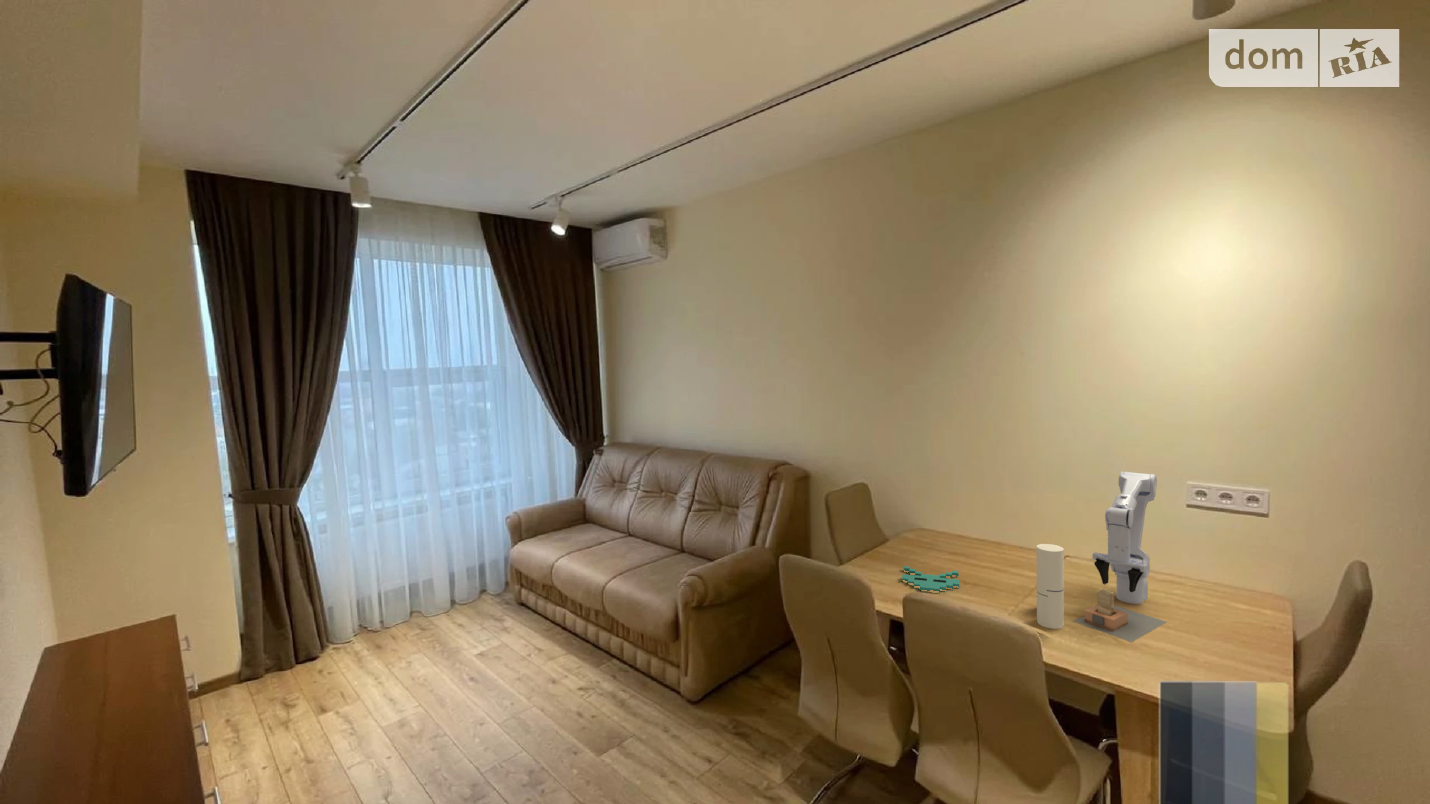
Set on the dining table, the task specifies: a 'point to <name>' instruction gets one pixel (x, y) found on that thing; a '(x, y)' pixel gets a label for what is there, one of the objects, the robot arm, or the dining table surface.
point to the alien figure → (930, 580)
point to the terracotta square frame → (1105, 618)
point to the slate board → (1129, 625)
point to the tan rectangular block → (1106, 602)
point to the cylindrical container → (1050, 586)
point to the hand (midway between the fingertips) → (1118, 587)
